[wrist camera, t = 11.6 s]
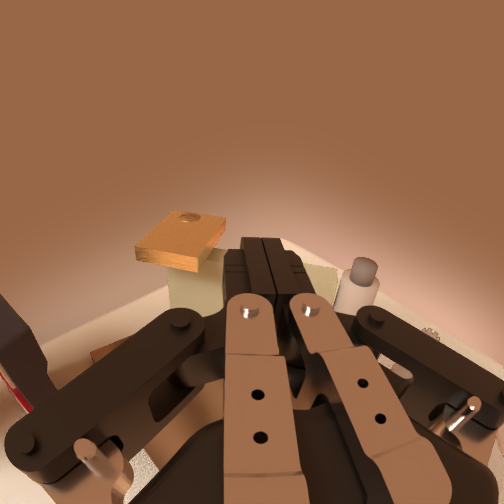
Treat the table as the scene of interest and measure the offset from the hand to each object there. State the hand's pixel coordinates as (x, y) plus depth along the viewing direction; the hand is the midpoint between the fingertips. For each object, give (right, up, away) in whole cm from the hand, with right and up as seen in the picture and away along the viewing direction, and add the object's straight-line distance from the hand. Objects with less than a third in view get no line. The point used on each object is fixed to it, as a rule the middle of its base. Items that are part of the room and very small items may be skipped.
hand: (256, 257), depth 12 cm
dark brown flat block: (-22, -17, +11) cm, 30 cm away
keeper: (-7, -13, +20) cm, 25 cm away
